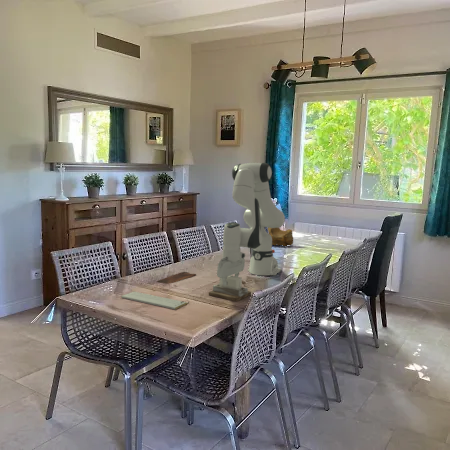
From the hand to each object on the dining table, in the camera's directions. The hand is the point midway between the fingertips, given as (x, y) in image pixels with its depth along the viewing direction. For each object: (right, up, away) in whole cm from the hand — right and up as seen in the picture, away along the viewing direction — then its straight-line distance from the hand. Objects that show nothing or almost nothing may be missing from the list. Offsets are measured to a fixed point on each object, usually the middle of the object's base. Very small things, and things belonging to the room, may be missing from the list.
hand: (230, 283), depth 220 cm
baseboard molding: (-36, -7, -11) cm, 38 cm away
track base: (0, -6, +1) cm, 6 cm away
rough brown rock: (+39, +12, +138) cm, 144 cm away
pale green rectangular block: (0, -5, +1) cm, 5 cm away
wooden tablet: (-30, -2, +30) cm, 42 cm away
